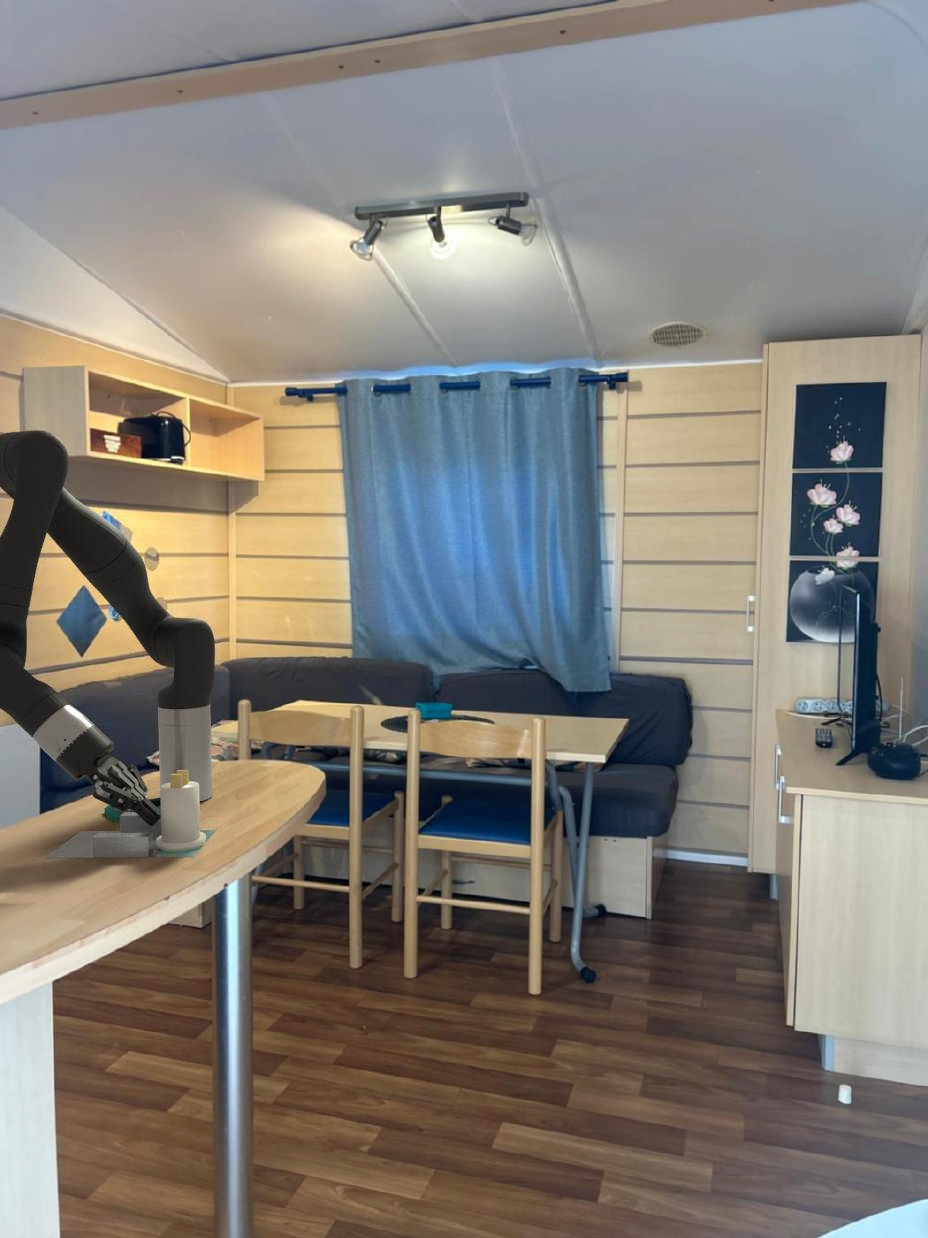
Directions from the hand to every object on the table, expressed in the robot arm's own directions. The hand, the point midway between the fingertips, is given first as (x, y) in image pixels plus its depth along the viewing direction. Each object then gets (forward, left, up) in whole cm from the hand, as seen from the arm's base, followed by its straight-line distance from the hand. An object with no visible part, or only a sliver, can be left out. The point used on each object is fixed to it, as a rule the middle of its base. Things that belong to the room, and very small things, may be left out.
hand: (157, 820), depth 139 cm
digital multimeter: (-18, -7, -5) cm, 20 cm away
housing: (0, -3, -4) cm, 6 cm away
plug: (+1, +4, -3) cm, 5 cm away
